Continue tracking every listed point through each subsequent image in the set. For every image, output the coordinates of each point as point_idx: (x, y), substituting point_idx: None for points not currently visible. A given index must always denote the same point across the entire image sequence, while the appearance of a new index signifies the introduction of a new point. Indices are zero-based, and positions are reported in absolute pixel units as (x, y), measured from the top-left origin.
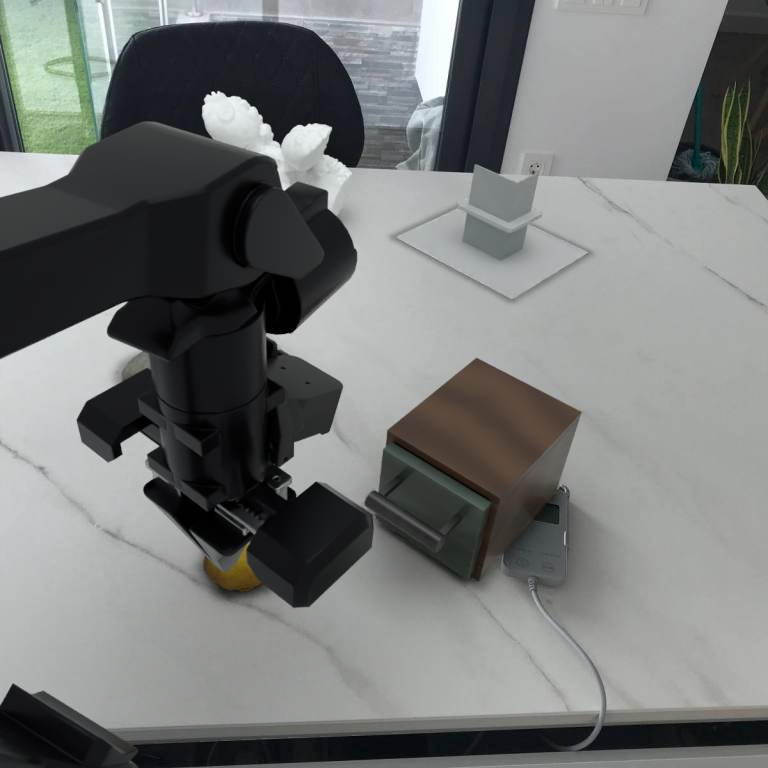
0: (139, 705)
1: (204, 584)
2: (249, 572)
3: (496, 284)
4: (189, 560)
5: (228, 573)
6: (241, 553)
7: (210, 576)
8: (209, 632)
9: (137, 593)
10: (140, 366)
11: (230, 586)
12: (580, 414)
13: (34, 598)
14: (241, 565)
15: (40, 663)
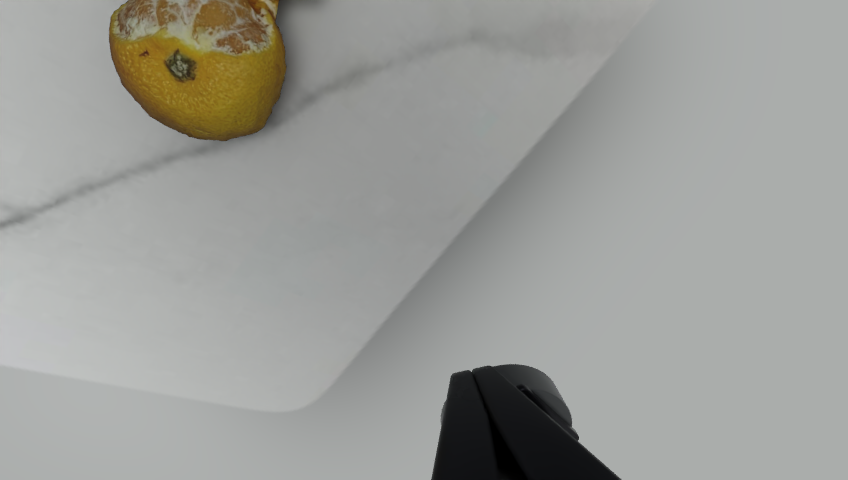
0: (368, 307)
1: None
2: (270, 83)
3: None
4: (148, 134)
5: (250, 122)
6: (523, 394)
7: (224, 140)
8: (320, 184)
9: (181, 239)
10: None
11: (266, 119)
12: None
13: (116, 355)
14: (252, 95)
15: (236, 375)
